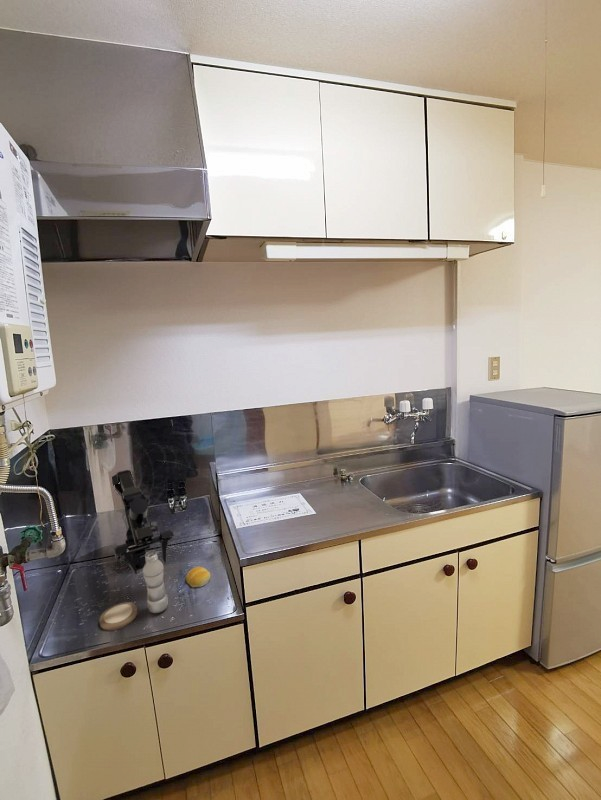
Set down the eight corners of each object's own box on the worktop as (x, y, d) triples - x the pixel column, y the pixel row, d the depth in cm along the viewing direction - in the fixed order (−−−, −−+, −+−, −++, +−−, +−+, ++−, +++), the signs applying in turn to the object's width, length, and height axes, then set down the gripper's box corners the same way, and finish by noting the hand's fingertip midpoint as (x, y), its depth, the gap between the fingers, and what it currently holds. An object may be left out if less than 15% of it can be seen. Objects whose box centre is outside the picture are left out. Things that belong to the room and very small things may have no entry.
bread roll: (194, 591, 137) (193, 581, 136) (183, 580, 144) (182, 570, 143) (215, 580, 142) (214, 571, 142) (203, 570, 149) (202, 560, 148)
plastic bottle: (149, 619, 125) (141, 562, 121) (147, 606, 131) (139, 551, 127) (170, 611, 128) (163, 555, 124) (167, 599, 134) (159, 545, 130)
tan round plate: (94, 619, 126) (93, 615, 126) (127, 600, 134) (126, 596, 134) (109, 636, 119) (108, 631, 119) (143, 614, 127) (142, 610, 127)
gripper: (110, 524, 127) (120, 572, 120) (169, 508, 137) (181, 550, 130) (110, 537, 135) (120, 582, 128) (166, 520, 145) (177, 561, 138)
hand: (150, 568), depth 131 cm, fingers open, 9 cm apart
